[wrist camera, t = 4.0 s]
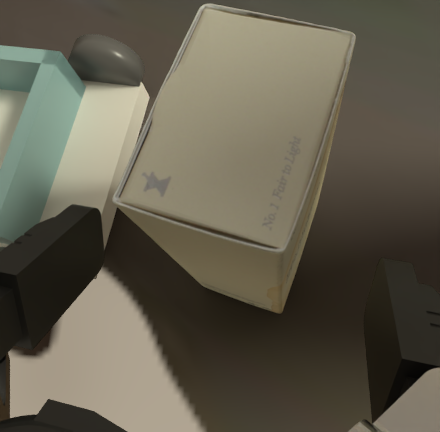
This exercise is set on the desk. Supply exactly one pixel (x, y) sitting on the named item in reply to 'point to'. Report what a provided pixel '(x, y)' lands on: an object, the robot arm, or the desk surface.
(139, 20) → the desk surface
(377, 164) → the desk surface
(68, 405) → the robot arm
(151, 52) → the desk surface
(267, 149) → the skincare box
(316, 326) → the desk surface
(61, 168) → the toy car chassis
